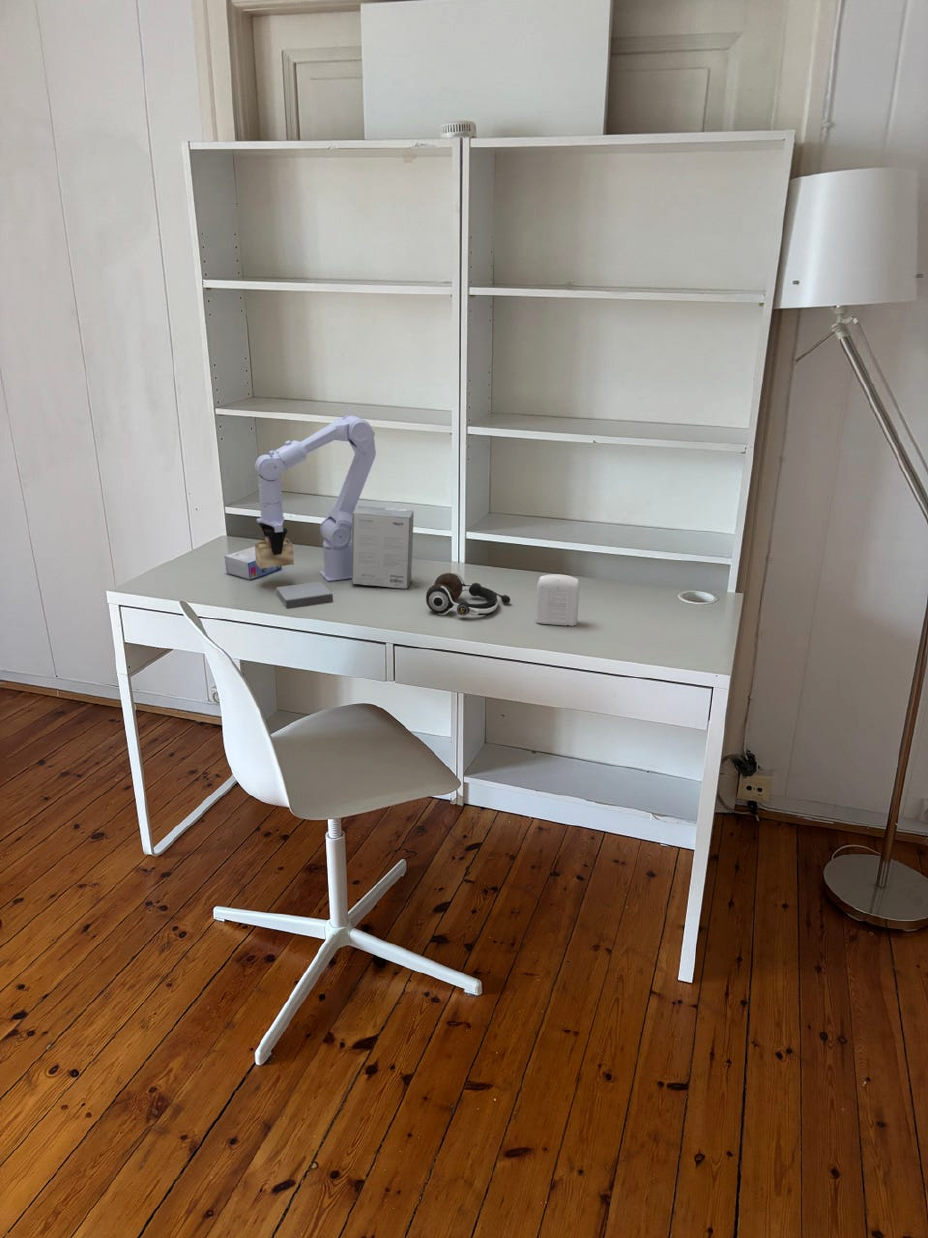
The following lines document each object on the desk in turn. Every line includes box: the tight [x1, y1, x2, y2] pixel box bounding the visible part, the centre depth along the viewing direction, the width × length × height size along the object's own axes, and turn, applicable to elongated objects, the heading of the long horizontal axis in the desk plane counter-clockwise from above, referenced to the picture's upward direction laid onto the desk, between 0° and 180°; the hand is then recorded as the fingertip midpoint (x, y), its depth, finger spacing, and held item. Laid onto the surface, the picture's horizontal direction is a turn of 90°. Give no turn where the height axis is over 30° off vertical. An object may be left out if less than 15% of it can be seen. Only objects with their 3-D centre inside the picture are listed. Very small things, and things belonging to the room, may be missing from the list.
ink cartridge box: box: [224, 546, 283, 581], centre depth 253 cm, size 10×6×14 cm
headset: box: [425, 571, 511, 617], centre depth 228 cm, size 17×8×20 cm
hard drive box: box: [351, 505, 415, 590], centre depth 241 cm, size 16×8×20 cm, turn 84°
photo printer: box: [534, 573, 581, 627], centre depth 218 cm, size 10×4×12 cm, turn 81°
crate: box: [264, 536, 271, 546], centre depth 239 cm, size 3×3×2 cm
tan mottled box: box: [254, 538, 295, 569], centre depth 241 cm, size 9×5×6 cm, turn 114°
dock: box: [276, 581, 334, 609], centre depth 234 cm, size 12×11×2 cm
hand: (274, 551), depth 240 cm, fingers closed on tan mottled box, 5 cm apart
